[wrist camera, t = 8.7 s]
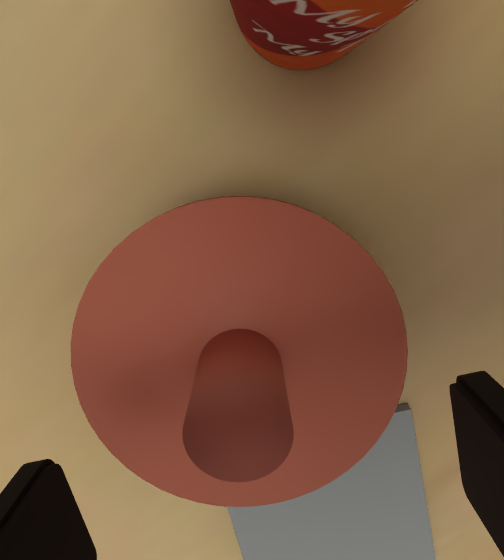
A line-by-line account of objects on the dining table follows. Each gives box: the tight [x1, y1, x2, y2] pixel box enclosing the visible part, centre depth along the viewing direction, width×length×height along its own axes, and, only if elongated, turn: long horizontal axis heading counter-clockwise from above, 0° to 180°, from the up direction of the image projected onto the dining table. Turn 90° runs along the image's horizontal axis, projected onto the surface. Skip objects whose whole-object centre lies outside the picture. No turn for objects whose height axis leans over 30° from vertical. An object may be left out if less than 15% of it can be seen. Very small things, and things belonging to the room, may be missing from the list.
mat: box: [227, 403, 436, 560], centre depth 25 cm, size 11×11×1 cm
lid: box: [71, 196, 408, 507], centre depth 14 cm, size 12×12×5 cm
